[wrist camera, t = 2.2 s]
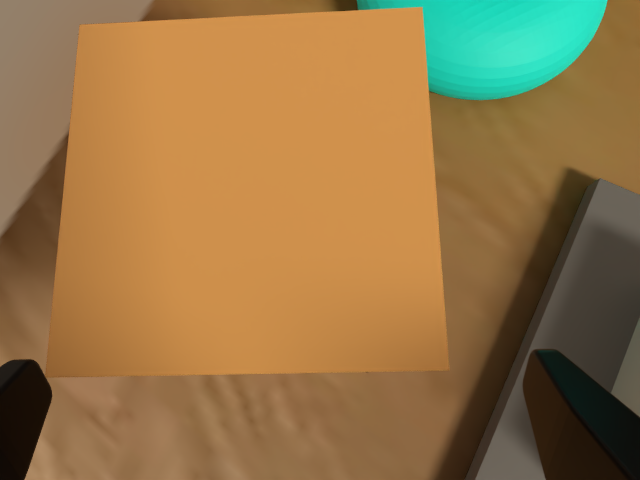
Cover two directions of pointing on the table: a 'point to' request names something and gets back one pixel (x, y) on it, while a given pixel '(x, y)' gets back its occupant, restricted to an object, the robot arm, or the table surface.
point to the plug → (250, 199)
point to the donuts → (499, 42)
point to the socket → (576, 326)
